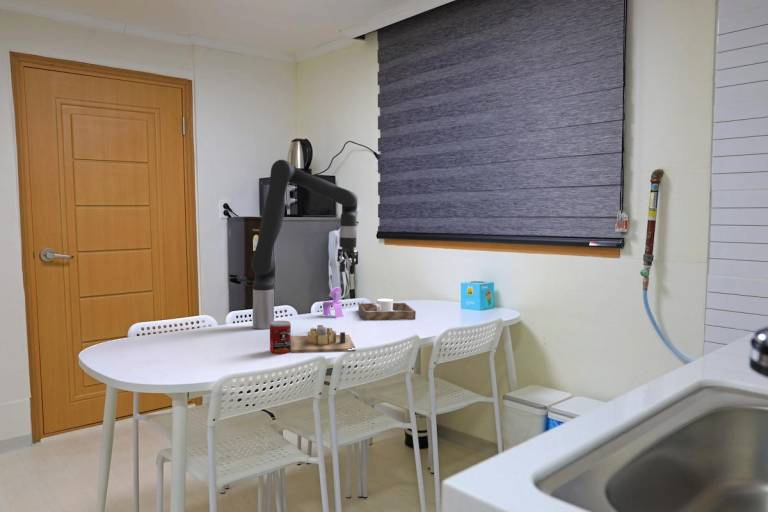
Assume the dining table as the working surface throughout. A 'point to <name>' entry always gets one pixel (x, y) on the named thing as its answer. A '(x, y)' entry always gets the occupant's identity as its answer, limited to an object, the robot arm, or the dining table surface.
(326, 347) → the jig board
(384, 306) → the tree stump
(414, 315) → the walnut frame
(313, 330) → the gold ring with lever
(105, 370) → the dining table surface
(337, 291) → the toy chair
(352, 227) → the robot arm
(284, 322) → the canned food
